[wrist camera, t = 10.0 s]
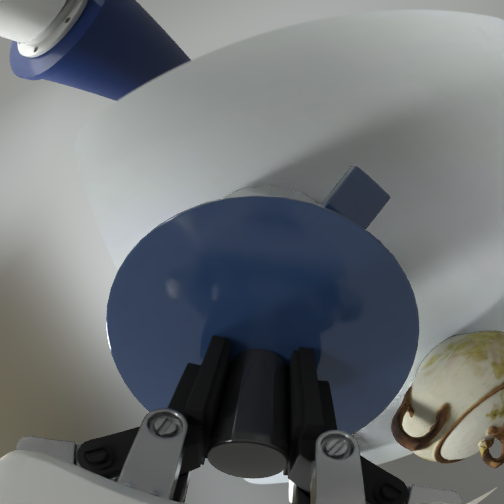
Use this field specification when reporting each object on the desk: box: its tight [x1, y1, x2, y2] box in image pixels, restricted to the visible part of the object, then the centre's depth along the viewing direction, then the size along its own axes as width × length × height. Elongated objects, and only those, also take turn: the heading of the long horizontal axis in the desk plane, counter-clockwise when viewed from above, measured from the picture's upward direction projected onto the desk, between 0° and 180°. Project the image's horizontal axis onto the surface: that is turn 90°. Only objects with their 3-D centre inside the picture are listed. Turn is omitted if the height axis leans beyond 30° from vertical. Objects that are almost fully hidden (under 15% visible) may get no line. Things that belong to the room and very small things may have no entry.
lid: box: [106, 195, 419, 478], centre depth 9 cm, size 14×14×6 cm
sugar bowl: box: [391, 331, 504, 468], centre depth 17 cm, size 20×15×15 cm
